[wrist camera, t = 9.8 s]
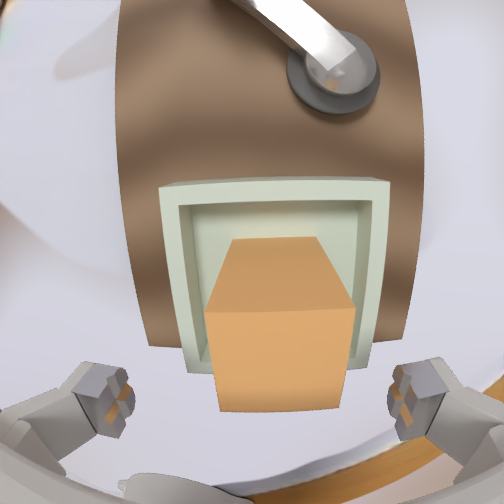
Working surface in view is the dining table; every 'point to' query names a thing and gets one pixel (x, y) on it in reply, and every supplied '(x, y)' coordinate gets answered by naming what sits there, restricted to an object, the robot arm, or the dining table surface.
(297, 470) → the dining table surface
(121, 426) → the robot arm
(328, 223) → the tray
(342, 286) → the block
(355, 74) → the crank
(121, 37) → the mechanism board
